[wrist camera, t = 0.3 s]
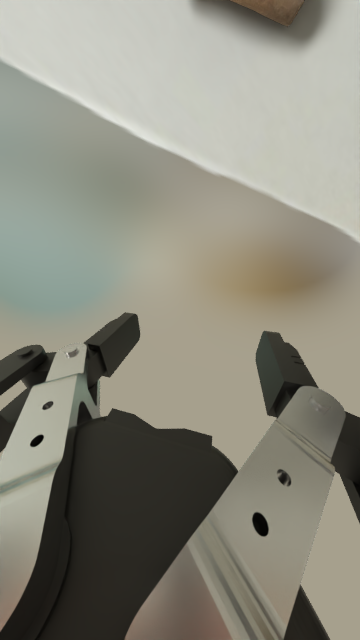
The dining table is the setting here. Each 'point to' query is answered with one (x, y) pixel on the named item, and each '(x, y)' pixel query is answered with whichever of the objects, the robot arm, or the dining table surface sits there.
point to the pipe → (274, 9)
